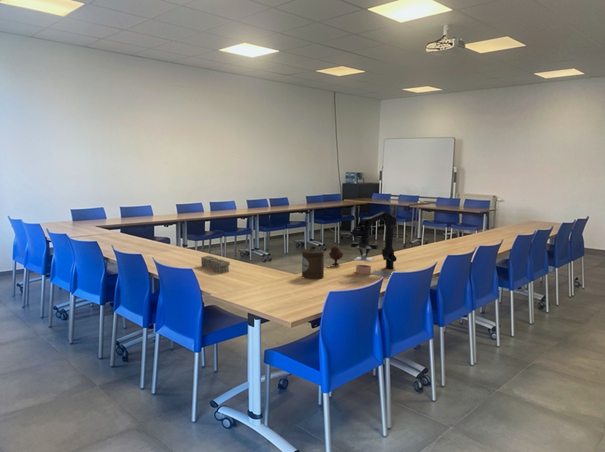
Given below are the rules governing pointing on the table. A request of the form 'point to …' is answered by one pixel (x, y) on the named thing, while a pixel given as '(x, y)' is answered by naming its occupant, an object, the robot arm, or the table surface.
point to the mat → (381, 273)
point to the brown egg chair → (335, 254)
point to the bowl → (363, 269)
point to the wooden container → (313, 263)
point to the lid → (363, 258)
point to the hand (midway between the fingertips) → (364, 257)
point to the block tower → (215, 264)
